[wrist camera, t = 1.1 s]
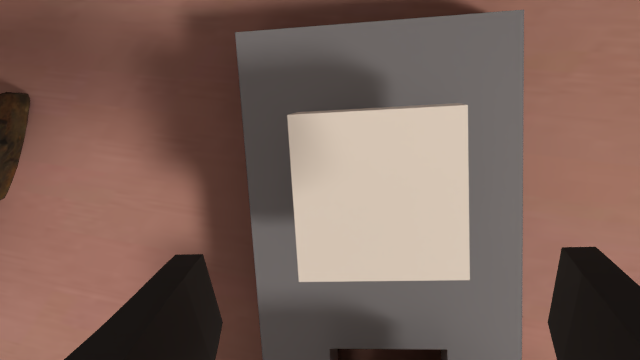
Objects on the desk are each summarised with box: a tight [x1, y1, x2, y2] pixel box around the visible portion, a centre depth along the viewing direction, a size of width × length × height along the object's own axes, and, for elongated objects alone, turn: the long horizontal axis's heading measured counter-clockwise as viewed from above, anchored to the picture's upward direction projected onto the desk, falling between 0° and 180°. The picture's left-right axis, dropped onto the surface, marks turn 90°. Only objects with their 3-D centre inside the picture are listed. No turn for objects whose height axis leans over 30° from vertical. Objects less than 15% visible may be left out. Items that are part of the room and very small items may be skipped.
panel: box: [235, 10, 524, 360], centre depth 23 cm, size 22×11×3 cm, turn 3°
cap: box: [287, 103, 470, 282], centre depth 19 cm, size 6×6×5 cm
